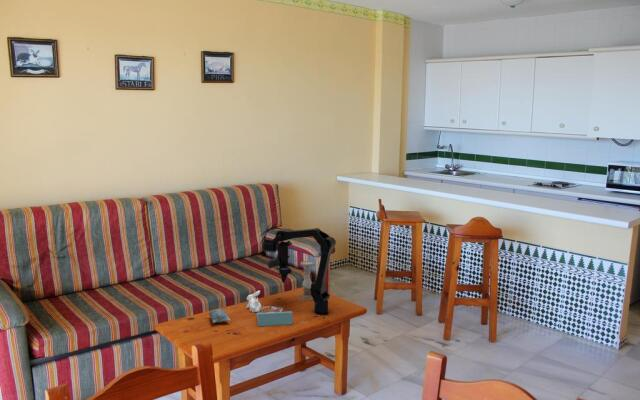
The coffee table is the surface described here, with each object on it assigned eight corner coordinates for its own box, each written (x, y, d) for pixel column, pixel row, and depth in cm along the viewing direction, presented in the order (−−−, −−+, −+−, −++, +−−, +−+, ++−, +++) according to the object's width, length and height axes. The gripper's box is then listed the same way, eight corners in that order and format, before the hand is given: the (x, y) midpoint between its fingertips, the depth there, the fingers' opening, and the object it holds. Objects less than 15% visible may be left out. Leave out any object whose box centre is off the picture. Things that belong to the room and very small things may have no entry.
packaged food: (226, 315, 275) (226, 306, 275) (230, 324, 264) (230, 314, 263) (208, 317, 273) (208, 307, 272) (212, 326, 261) (211, 316, 261)
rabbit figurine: (243, 307, 288) (243, 289, 287) (257, 305, 292) (257, 287, 290) (253, 314, 278) (252, 296, 276) (266, 312, 282) (266, 294, 280)
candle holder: (309, 302, 297) (309, 265, 294) (296, 299, 302) (296, 263, 299) (318, 297, 305) (318, 262, 302) (305, 295, 309) (305, 259, 306)
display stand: (289, 316, 275) (289, 305, 274) (292, 324, 265) (292, 312, 264) (256, 318, 272) (256, 306, 272) (258, 326, 262) (258, 314, 262)
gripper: (265, 249, 294) (266, 278, 296) (269, 258, 276) (269, 288, 278) (286, 248, 296) (286, 277, 299) (291, 257, 278) (291, 287, 280)
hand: (283, 282), depth 289 cm, fingers closed
